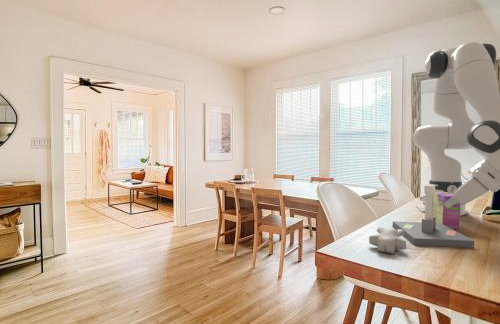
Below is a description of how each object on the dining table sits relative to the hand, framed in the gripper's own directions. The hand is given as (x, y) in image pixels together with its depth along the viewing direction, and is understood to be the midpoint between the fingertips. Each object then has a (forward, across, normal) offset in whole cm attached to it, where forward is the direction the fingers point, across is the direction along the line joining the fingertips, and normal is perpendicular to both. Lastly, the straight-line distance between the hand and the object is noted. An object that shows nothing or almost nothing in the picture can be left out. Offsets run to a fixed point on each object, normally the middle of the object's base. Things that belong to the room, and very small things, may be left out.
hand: (446, 205), depth 91 cm
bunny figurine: (+16, +19, -1) cm, 25 cm away
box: (+9, -20, +6) cm, 23 cm away
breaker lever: (+9, 0, +2) cm, 9 cm away
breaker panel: (+11, 0, +4) cm, 11 cm away
